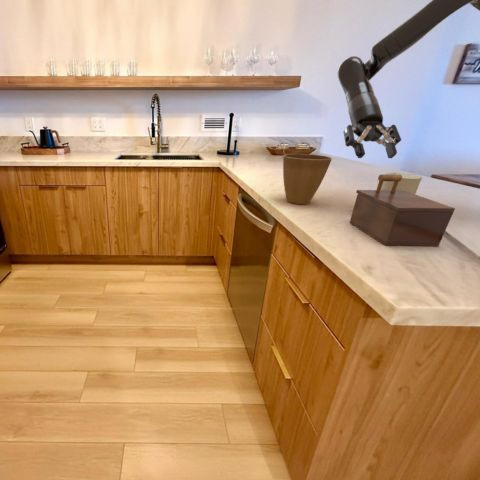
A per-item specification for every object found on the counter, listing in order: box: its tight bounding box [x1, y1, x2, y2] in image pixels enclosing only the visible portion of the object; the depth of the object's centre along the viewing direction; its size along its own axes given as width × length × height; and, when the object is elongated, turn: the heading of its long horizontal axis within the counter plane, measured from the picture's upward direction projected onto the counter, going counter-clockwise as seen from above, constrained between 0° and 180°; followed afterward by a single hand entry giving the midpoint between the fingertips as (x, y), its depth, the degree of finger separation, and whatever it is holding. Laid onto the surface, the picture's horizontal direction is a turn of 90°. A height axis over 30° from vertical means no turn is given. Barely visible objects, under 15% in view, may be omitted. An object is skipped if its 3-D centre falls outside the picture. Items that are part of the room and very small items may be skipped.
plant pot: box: [282, 153, 333, 205], centre depth 100 cm, size 15×15×16 cm
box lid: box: [356, 174, 456, 213], centre depth 72 cm, size 16×13×6 cm
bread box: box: [349, 193, 454, 247], centre depth 75 cm, size 16×13×9 cm
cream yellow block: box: [381, 172, 423, 195], centre depth 91 cm, size 9×9×12 cm
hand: (377, 156), depth 82 cm, fingers open, 8 cm apart
